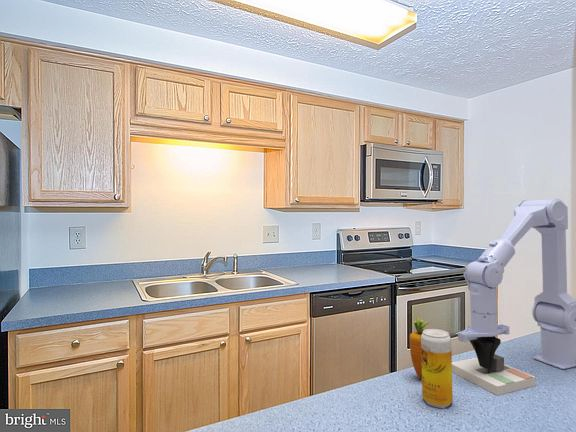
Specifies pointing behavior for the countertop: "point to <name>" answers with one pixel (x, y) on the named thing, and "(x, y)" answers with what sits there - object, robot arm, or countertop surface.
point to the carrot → (417, 346)
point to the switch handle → (496, 364)
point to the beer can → (436, 368)
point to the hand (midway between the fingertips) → (485, 366)
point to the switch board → (493, 377)
